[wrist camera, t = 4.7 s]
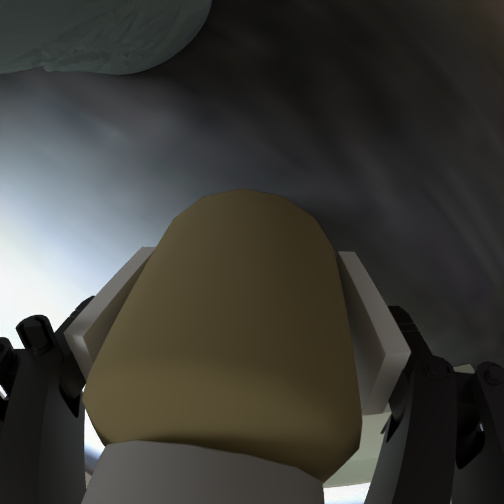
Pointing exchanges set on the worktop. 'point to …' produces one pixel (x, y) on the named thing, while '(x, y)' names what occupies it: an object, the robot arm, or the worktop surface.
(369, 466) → the tray
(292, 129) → the worktop surface
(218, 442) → the squeeze bottle
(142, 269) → the robot arm
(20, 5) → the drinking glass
